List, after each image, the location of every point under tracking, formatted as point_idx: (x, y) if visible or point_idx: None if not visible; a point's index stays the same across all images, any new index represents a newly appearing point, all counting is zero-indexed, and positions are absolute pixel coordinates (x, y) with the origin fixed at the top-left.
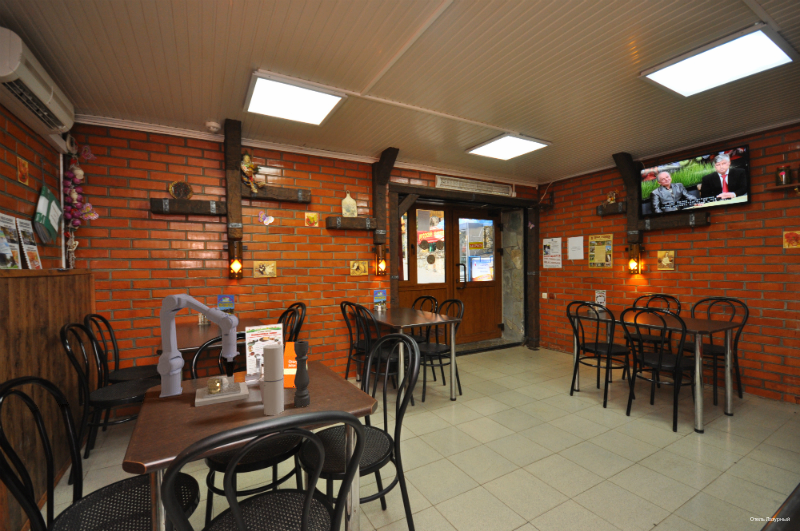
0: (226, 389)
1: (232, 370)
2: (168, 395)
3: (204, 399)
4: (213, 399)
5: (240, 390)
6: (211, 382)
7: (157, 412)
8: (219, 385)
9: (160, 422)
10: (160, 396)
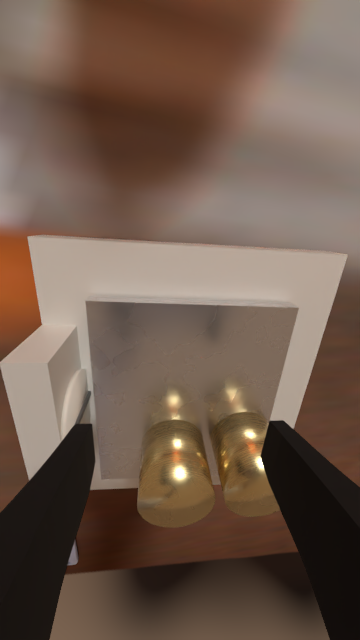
0: (226, 385)
1: (330, 483)
2: (74, 546)
3: None
4: (293, 426)
5: (295, 309)
6: (237, 507)
7: (239, 539)
8: None
9: None
10: (76, 562)
